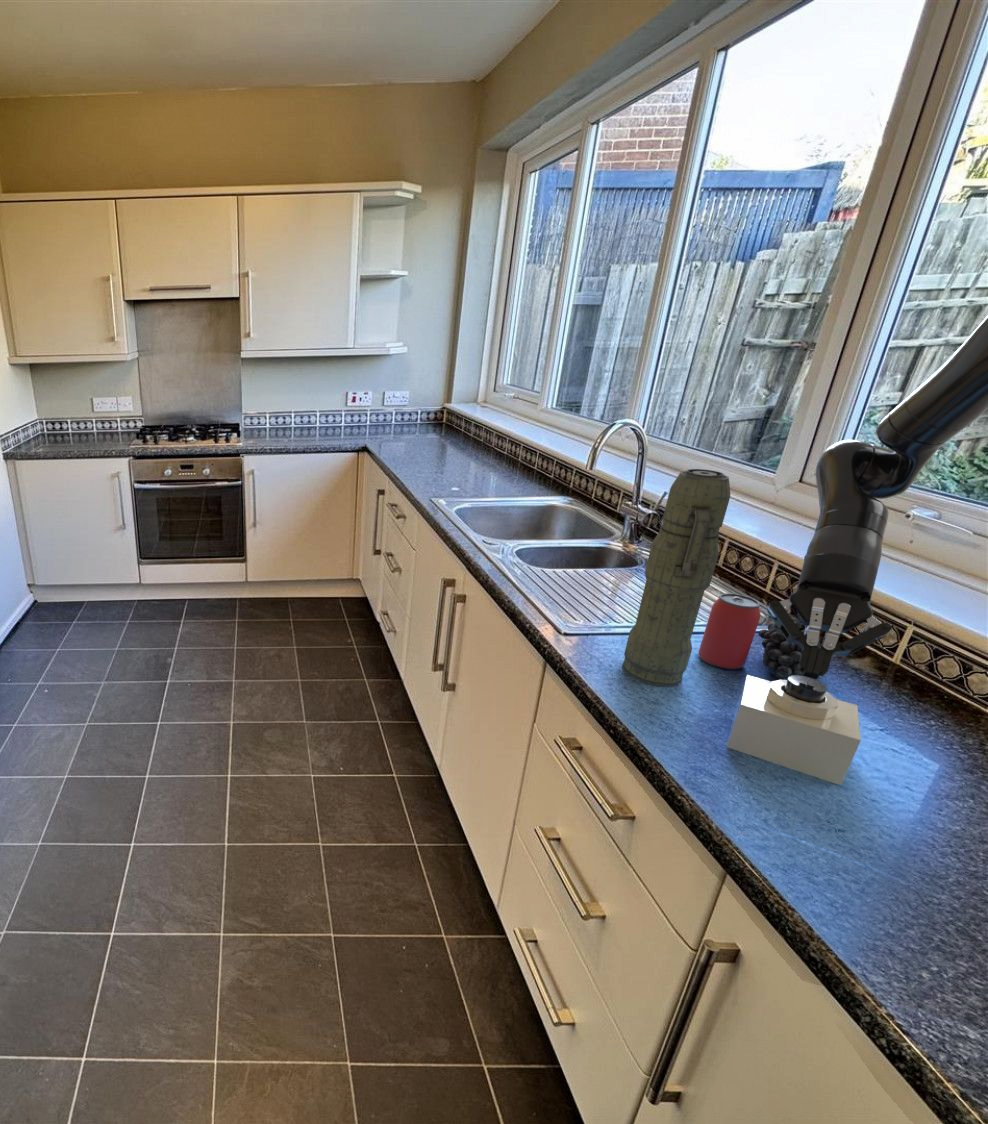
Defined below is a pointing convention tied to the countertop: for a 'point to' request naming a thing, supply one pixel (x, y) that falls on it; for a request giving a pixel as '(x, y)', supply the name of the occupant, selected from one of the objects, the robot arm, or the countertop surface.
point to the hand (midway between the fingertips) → (811, 675)
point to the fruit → (781, 651)
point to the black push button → (805, 689)
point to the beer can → (730, 631)
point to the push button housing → (795, 730)
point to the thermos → (677, 578)
